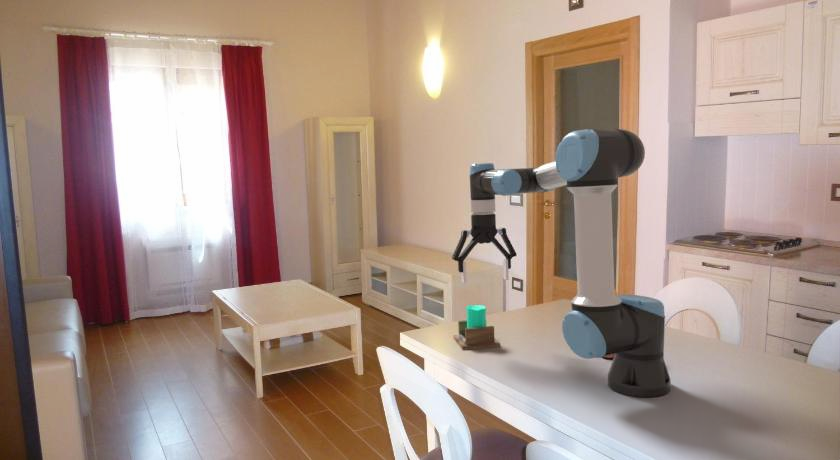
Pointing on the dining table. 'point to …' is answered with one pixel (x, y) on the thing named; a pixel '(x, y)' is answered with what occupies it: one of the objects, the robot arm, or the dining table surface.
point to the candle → (476, 316)
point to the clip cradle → (475, 336)
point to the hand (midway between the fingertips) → (485, 281)
